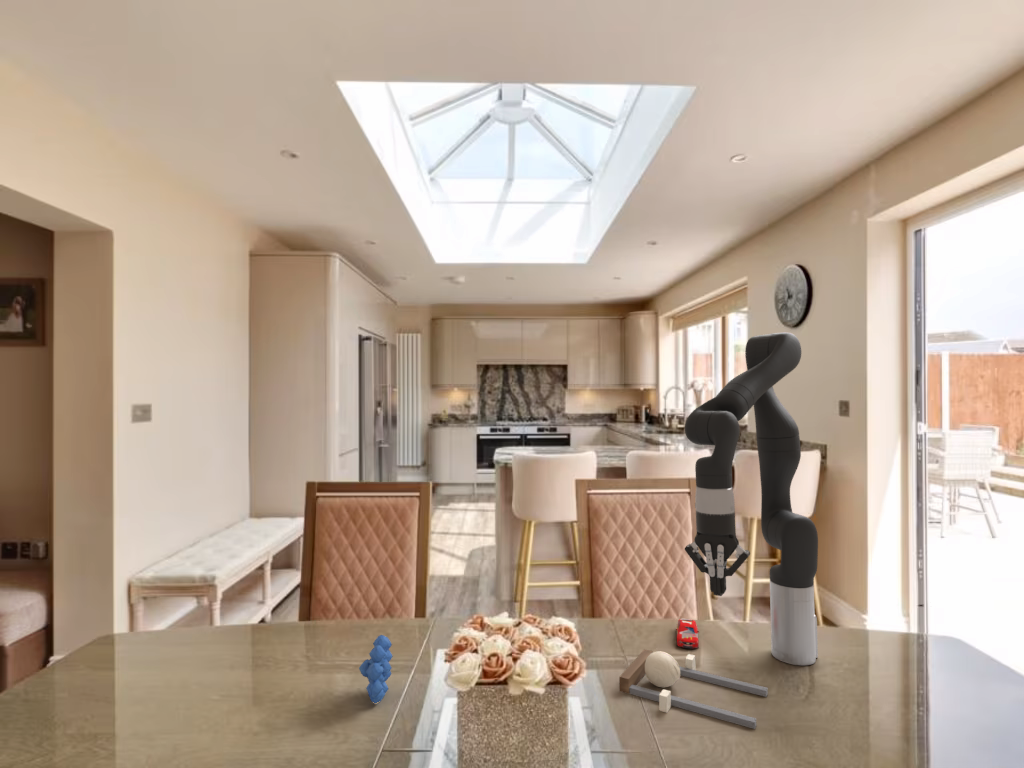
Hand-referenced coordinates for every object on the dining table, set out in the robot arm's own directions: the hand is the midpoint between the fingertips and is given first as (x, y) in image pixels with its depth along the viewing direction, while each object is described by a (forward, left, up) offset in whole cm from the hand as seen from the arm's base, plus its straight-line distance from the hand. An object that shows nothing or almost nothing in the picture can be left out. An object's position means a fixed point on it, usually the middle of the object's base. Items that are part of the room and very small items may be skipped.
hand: (718, 594), depth 115 cm
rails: (+3, -3, -21) cm, 21 cm away
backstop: (+9, -14, -21) cm, 27 cm away
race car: (-14, -24, -21) cm, 35 cm away
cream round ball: (+7, -9, -21) cm, 24 cm away
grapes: (+62, -34, -21) cm, 73 cm away
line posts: (+5, -6, -20) cm, 22 cm away
